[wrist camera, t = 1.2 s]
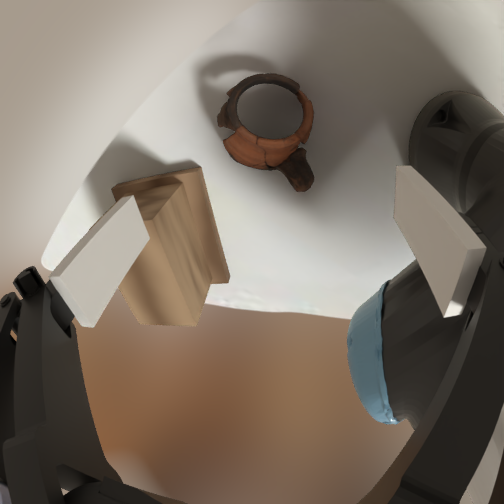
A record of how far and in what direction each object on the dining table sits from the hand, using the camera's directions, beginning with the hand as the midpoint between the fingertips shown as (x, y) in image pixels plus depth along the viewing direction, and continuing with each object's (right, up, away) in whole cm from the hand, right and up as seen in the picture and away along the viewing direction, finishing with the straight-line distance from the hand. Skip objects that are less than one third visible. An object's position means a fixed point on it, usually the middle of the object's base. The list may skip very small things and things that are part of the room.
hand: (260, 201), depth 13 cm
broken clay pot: (+2, +10, +15) cm, 18 cm away
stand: (-11, 0, +23) cm, 26 cm away
